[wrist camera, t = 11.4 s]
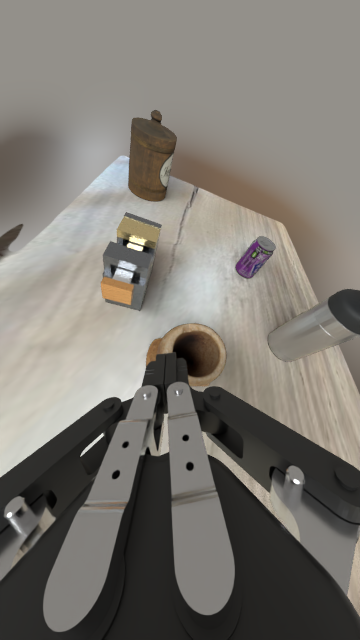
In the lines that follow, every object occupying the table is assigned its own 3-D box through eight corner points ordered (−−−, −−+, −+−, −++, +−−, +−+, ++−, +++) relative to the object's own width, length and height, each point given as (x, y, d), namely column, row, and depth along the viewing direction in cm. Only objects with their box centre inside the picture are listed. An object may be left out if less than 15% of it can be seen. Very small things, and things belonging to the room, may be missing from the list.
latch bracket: (140, 310, 42) (147, 271, 31) (105, 301, 40) (100, 257, 30) (152, 267, 50) (161, 224, 40) (124, 258, 49) (126, 212, 38)
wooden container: (167, 205, 70) (184, 128, 52) (128, 196, 65) (132, 108, 47) (162, 186, 77) (176, 112, 59) (127, 177, 72) (130, 93, 54)
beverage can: (239, 279, 59) (263, 250, 49) (231, 264, 62) (252, 234, 52) (255, 279, 62) (281, 251, 52) (246, 264, 65) (269, 236, 55)
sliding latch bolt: (130, 305, 32) (131, 291, 29) (102, 297, 32) (100, 283, 28) (149, 247, 42) (152, 232, 39) (128, 240, 41) (129, 224, 38)
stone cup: (140, 394, 33) (153, 376, 21) (148, 337, 39) (162, 297, 27) (214, 400, 36) (262, 388, 24) (210, 347, 43) (248, 315, 30)
